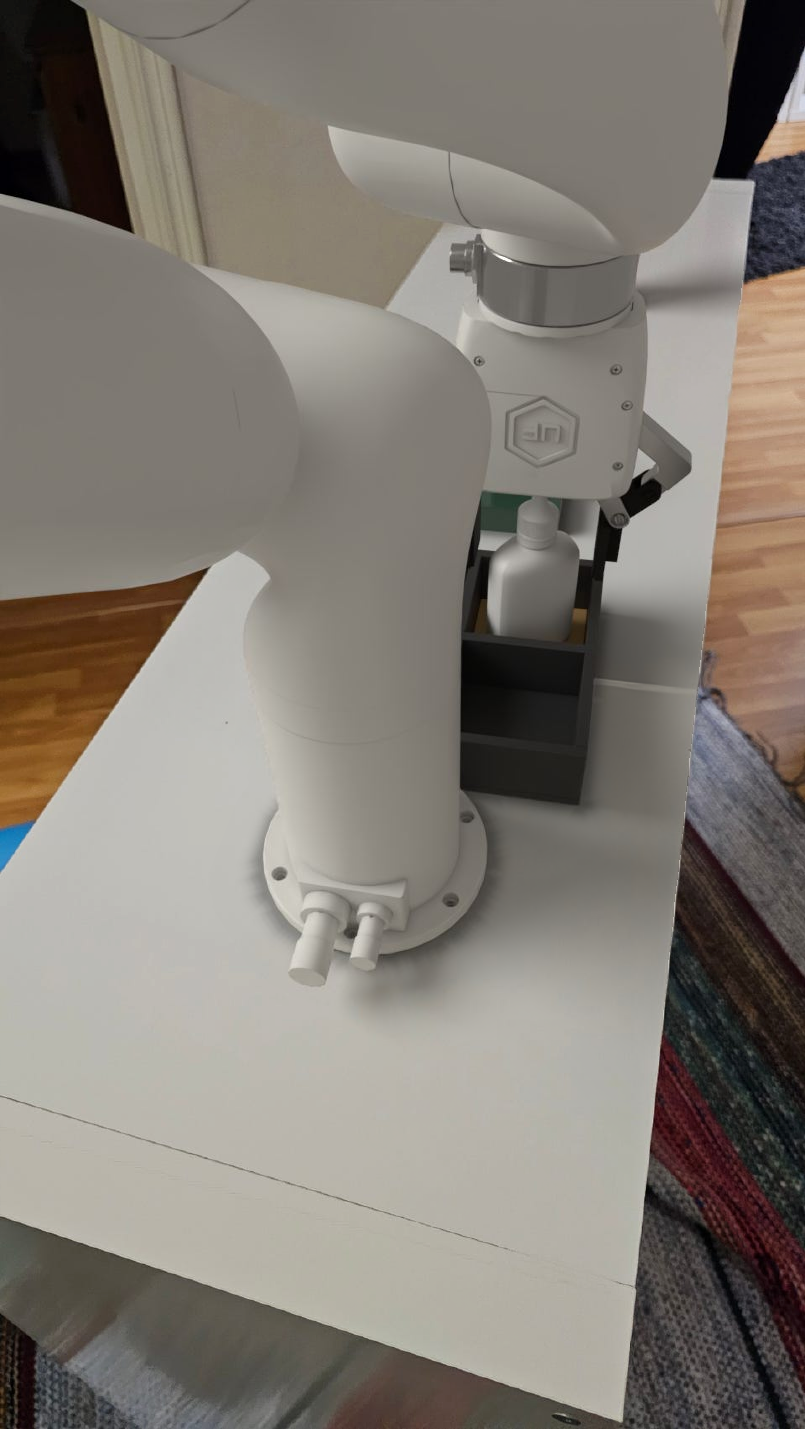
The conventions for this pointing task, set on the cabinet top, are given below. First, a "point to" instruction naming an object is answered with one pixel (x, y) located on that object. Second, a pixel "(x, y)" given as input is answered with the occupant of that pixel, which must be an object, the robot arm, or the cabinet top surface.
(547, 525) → the eye dropper bottle
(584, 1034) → the cabinet top surface
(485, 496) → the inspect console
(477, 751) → the tray
